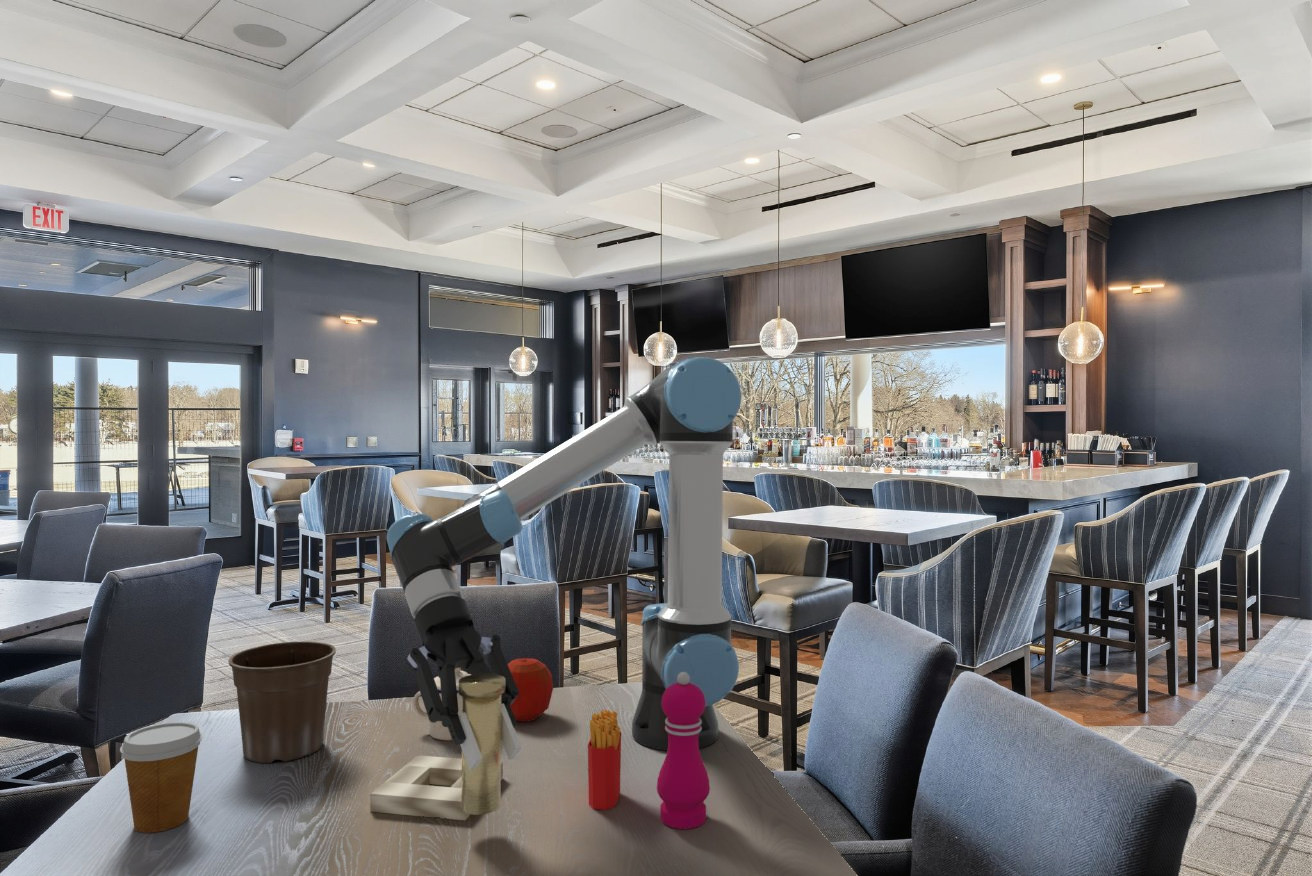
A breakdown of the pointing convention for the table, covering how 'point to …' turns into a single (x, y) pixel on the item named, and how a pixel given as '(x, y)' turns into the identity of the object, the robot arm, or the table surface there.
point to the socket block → (423, 789)
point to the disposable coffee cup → (161, 773)
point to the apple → (530, 688)
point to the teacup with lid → (437, 728)
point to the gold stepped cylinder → (482, 742)
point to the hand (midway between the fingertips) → (495, 758)
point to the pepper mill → (683, 757)
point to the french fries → (604, 760)
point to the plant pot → (282, 698)
